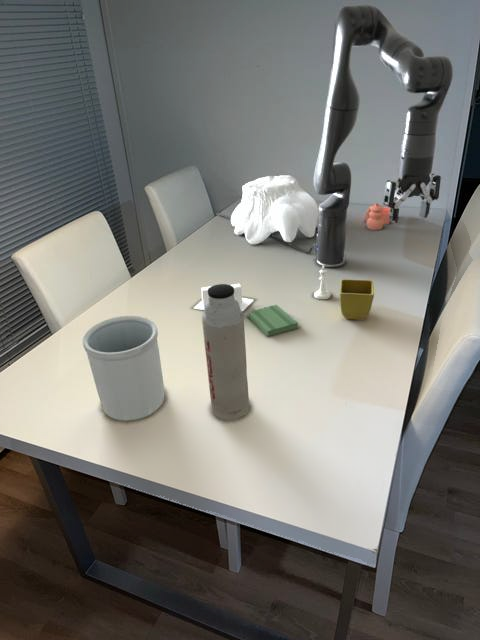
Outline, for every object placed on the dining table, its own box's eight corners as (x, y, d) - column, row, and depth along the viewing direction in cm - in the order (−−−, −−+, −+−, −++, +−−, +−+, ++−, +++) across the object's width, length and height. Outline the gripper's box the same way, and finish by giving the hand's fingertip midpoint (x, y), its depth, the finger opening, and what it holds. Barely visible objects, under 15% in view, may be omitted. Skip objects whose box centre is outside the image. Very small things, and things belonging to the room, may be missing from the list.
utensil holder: (170, 416, 102) (159, 345, 93) (98, 429, 100) (79, 358, 91) (165, 376, 115) (154, 311, 106) (100, 387, 112) (84, 321, 104)
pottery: (369, 215, 210) (371, 192, 205) (392, 217, 206) (394, 194, 201) (361, 229, 196) (362, 205, 191) (385, 231, 192) (387, 206, 187)
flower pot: (371, 324, 130) (374, 294, 126) (338, 322, 132) (339, 293, 127) (370, 309, 138) (373, 280, 133) (339, 307, 139) (340, 278, 135)
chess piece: (331, 292, 148) (333, 262, 143) (328, 300, 144) (330, 268, 139) (315, 291, 149) (316, 260, 144) (312, 298, 145) (313, 267, 140)
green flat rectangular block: (248, 317, 137) (248, 311, 137) (276, 309, 140) (276, 304, 140) (267, 336, 128) (267, 330, 127) (297, 327, 131) (297, 322, 130)
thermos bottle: (212, 421, 100) (198, 300, 86) (211, 397, 107) (198, 281, 93) (251, 418, 100) (243, 296, 86) (247, 394, 107) (240, 278, 93)
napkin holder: (192, 308, 144) (190, 291, 141) (210, 292, 153) (209, 275, 150) (238, 316, 138) (237, 298, 135) (254, 299, 147) (253, 282, 144)
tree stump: (266, 220, 226) (258, 170, 217) (338, 219, 204) (332, 164, 195) (213, 251, 199) (201, 195, 189) (289, 254, 177) (280, 192, 168)
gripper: (432, 146, 119) (423, 211, 127) (381, 153, 116) (375, 219, 124) (453, 152, 113) (442, 219, 121) (400, 159, 109) (392, 228, 118)
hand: (408, 219), depth 122 cm, fingers open, 8 cm apart
